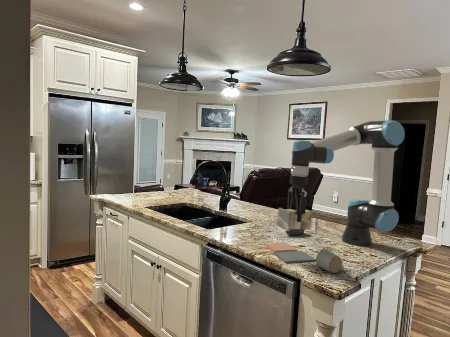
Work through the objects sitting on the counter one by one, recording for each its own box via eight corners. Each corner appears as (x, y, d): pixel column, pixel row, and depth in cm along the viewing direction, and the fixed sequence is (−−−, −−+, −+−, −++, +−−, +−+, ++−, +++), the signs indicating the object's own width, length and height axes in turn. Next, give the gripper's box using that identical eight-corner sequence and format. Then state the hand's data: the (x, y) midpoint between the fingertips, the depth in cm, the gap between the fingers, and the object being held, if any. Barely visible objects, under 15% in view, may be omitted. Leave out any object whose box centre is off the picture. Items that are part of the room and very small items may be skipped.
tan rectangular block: (301, 225, 152) (303, 208, 151) (313, 231, 142) (315, 213, 142) (276, 225, 148) (278, 207, 147) (287, 231, 138) (289, 212, 138)
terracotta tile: (286, 242, 162) (265, 243, 158) (297, 249, 152) (274, 250, 149) (286, 246, 162) (264, 247, 158) (297, 252, 153) (274, 254, 149)
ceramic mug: (329, 275, 126) (331, 256, 126) (314, 267, 134) (316, 249, 133) (348, 272, 131) (350, 253, 131) (333, 265, 139) (335, 247, 138)
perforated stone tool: (288, 237, 177) (289, 224, 176) (281, 234, 181) (282, 222, 180) (307, 234, 185) (308, 222, 184) (300, 232, 189) (301, 220, 189)
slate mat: (302, 252, 152) (302, 251, 152) (315, 261, 141) (316, 259, 141) (273, 254, 147) (273, 252, 147) (285, 263, 136) (285, 261, 136)
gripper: (282, 172, 150) (277, 222, 152) (302, 177, 134) (296, 232, 135) (296, 173, 152) (292, 222, 154) (317, 178, 136) (312, 232, 138)
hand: (294, 227), depth 145 cm, fingers closed on tan rectangular block, 4 cm apart
